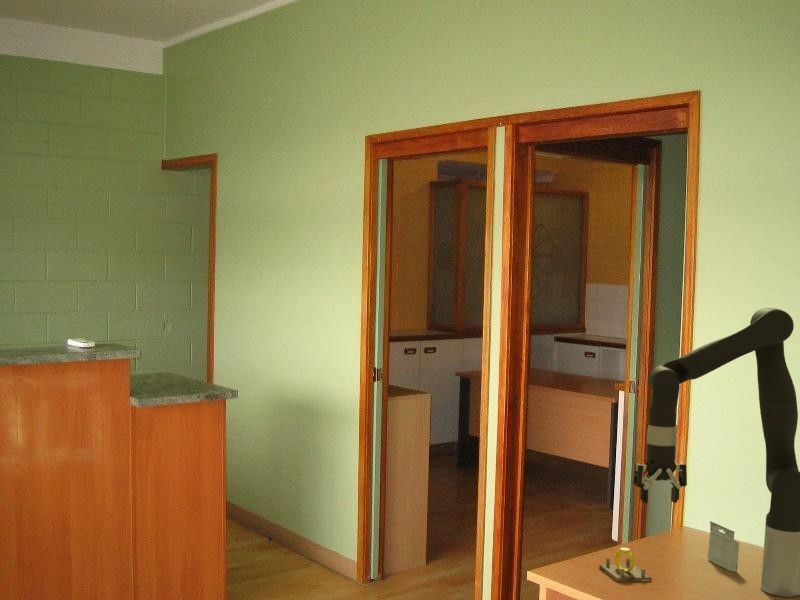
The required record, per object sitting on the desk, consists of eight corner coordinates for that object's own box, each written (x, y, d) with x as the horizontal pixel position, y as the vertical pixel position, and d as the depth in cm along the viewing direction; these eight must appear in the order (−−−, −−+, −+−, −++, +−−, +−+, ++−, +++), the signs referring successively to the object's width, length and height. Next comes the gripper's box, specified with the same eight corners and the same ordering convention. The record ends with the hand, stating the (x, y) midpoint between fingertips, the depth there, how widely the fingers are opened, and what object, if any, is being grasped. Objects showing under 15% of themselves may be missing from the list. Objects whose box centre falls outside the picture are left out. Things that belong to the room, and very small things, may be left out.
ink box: (738, 572, 261) (741, 531, 260) (731, 572, 260) (734, 532, 260) (713, 559, 272) (716, 520, 271) (706, 559, 271) (709, 520, 271)
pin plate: (632, 567, 260) (633, 556, 259) (651, 581, 249) (652, 570, 249) (599, 568, 257) (600, 557, 257) (616, 581, 247) (617, 570, 247)
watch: (635, 573, 251) (637, 551, 251) (628, 574, 250) (629, 552, 250) (619, 566, 256) (621, 545, 256) (612, 567, 255) (613, 546, 255)
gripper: (643, 445, 243) (641, 506, 243) (693, 444, 246) (691, 505, 246) (630, 439, 250) (628, 499, 251) (679, 439, 253) (677, 498, 253)
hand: (659, 502), depth 248 cm, fingers open, 8 cm apart
